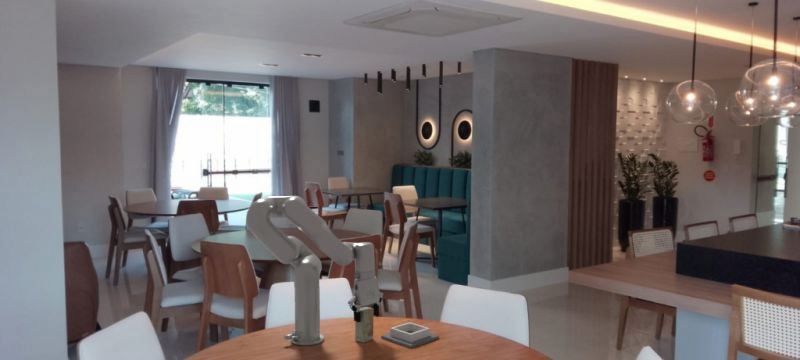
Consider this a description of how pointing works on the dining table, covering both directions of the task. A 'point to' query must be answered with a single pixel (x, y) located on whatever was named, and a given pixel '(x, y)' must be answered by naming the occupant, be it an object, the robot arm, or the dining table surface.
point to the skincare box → (364, 325)
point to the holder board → (410, 335)
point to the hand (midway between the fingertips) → (366, 318)
